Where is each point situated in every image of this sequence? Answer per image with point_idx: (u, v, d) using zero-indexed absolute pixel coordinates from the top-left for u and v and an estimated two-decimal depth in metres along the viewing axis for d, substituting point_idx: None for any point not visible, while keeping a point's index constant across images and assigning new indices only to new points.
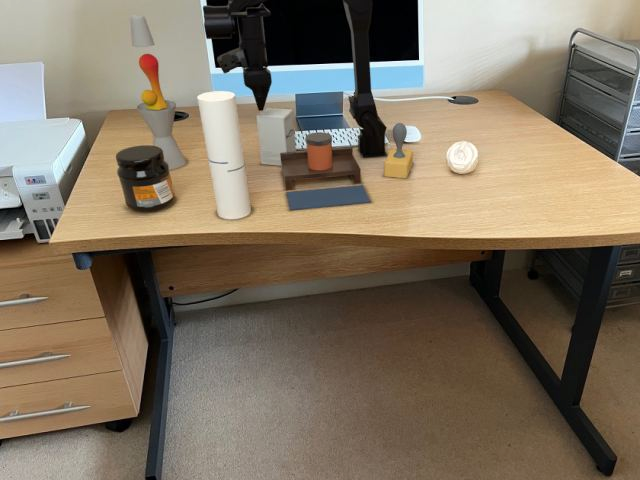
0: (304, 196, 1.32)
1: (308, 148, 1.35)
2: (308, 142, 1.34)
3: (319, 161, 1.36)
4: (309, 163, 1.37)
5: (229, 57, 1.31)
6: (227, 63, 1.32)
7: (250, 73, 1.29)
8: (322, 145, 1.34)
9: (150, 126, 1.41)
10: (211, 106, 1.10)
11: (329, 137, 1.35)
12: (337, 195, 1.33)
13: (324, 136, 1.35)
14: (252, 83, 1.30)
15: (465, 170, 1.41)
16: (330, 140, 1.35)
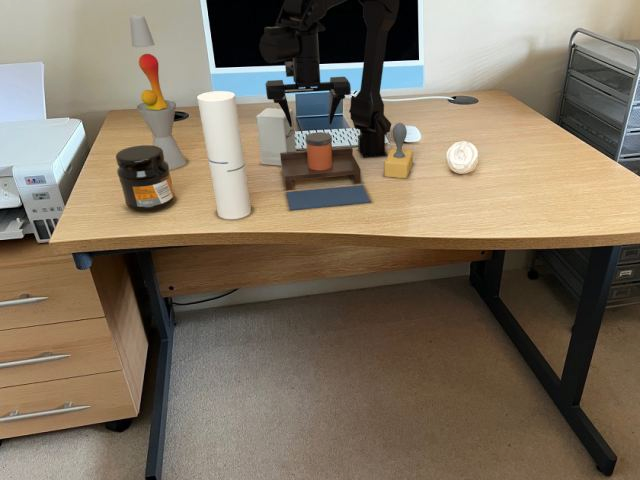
0: (304, 196, 1.32)
1: (308, 148, 1.35)
2: (308, 142, 1.34)
3: (319, 161, 1.36)
4: (309, 163, 1.37)
5: (285, 65, 1.32)
6: None
7: (266, 83, 1.29)
8: (322, 145, 1.34)
9: (150, 126, 1.41)
10: (211, 106, 1.10)
11: (329, 137, 1.35)
12: (337, 195, 1.33)
13: (324, 136, 1.35)
14: (266, 93, 1.30)
15: (465, 170, 1.41)
16: (330, 140, 1.35)
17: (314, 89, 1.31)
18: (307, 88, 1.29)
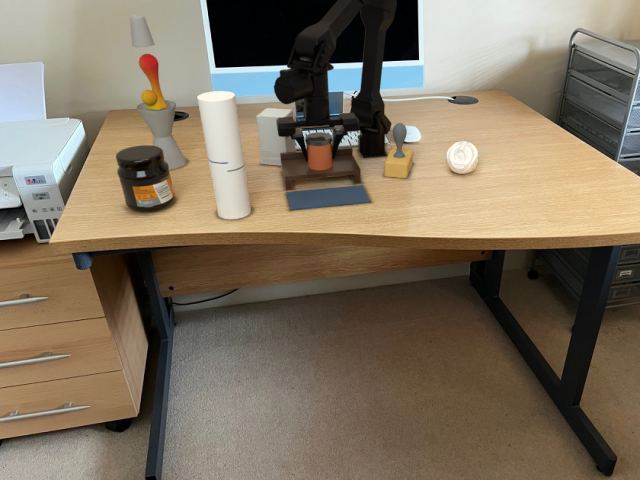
0: (304, 196, 1.32)
1: (308, 148, 1.35)
2: (308, 142, 1.34)
3: (319, 161, 1.36)
4: (309, 163, 1.37)
5: (295, 102, 1.35)
6: None
7: (277, 120, 1.32)
8: (322, 145, 1.34)
9: (150, 126, 1.41)
10: (211, 106, 1.10)
11: (329, 137, 1.35)
12: (337, 195, 1.33)
13: (324, 136, 1.35)
14: (277, 129, 1.33)
15: (465, 170, 1.41)
16: (330, 140, 1.35)
17: None
18: (317, 125, 1.33)
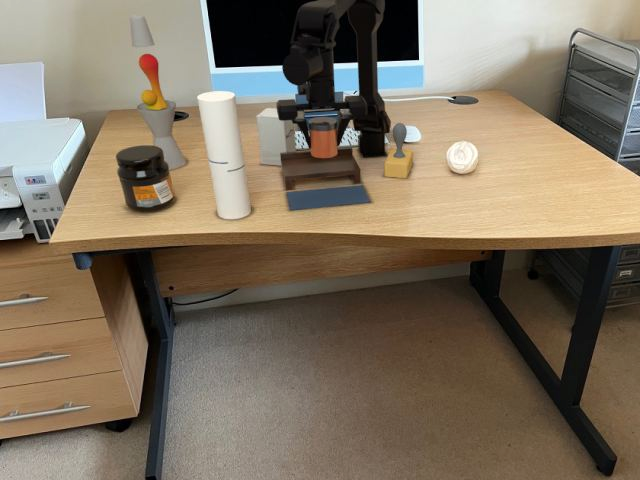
0: (304, 196, 1.32)
1: (311, 134, 1.23)
2: (311, 127, 1.22)
3: (323, 148, 1.24)
4: (312, 150, 1.26)
5: None
6: (297, 89, 1.25)
7: (277, 103, 1.21)
8: (326, 130, 1.22)
9: (150, 126, 1.41)
10: (211, 106, 1.10)
11: (334, 122, 1.23)
12: (337, 195, 1.33)
13: (329, 121, 1.24)
14: (277, 113, 1.22)
15: (465, 170, 1.41)
16: (335, 125, 1.23)
17: None
18: (321, 108, 1.21)
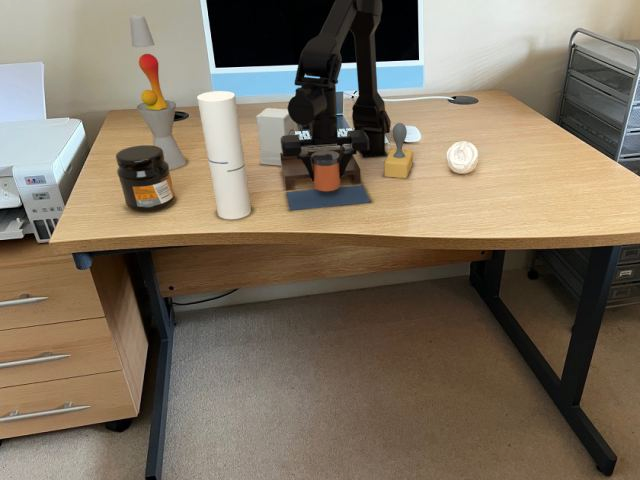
0: (304, 196, 1.32)
1: (314, 168, 1.26)
2: (314, 162, 1.25)
3: (326, 181, 1.27)
4: (315, 183, 1.29)
5: None
6: None
7: (281, 138, 1.24)
8: (329, 165, 1.25)
9: (150, 126, 1.41)
10: (211, 106, 1.10)
11: (337, 156, 1.26)
12: (337, 195, 1.33)
13: (332, 155, 1.27)
14: (281, 148, 1.25)
15: (465, 170, 1.41)
16: (338, 159, 1.26)
17: None
18: (324, 143, 1.24)
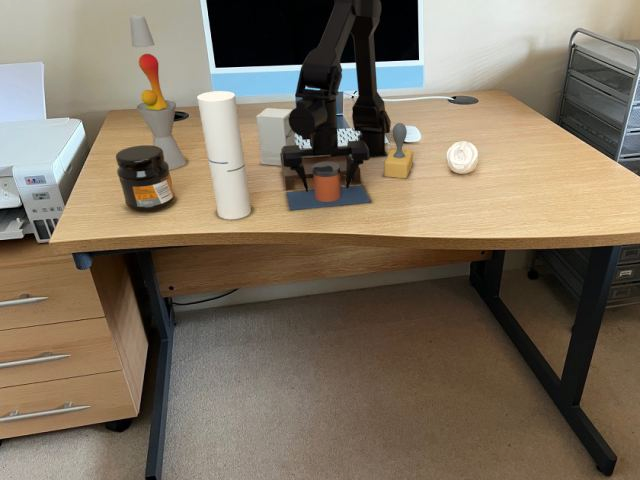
0: (304, 196, 1.32)
1: (315, 179, 1.28)
2: (315, 173, 1.27)
3: (326, 192, 1.28)
4: (316, 194, 1.30)
5: None
6: None
7: (282, 149, 1.25)
8: (330, 176, 1.26)
9: (150, 126, 1.41)
10: (211, 106, 1.10)
11: (337, 167, 1.28)
12: None
13: (332, 167, 1.28)
14: (282, 158, 1.26)
15: (465, 170, 1.41)
16: (338, 170, 1.28)
17: (331, 154, 1.27)
18: (324, 154, 1.25)
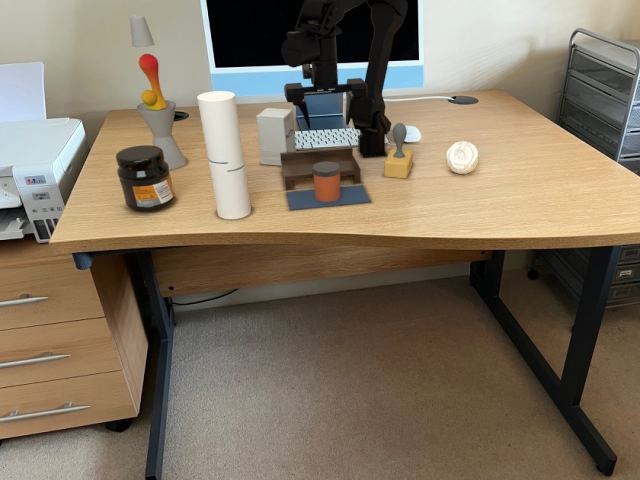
0: (304, 196, 1.32)
1: (315, 179, 1.28)
2: (315, 173, 1.27)
3: (326, 192, 1.28)
4: (316, 194, 1.30)
5: (302, 68, 1.34)
6: None
7: (285, 86, 1.31)
8: (330, 176, 1.26)
9: (150, 126, 1.41)
10: (211, 106, 1.10)
11: (337, 167, 1.28)
12: None
13: (332, 167, 1.28)
14: (285, 95, 1.33)
15: (465, 170, 1.41)
16: (338, 170, 1.28)
17: (332, 91, 1.33)
18: (325, 90, 1.32)
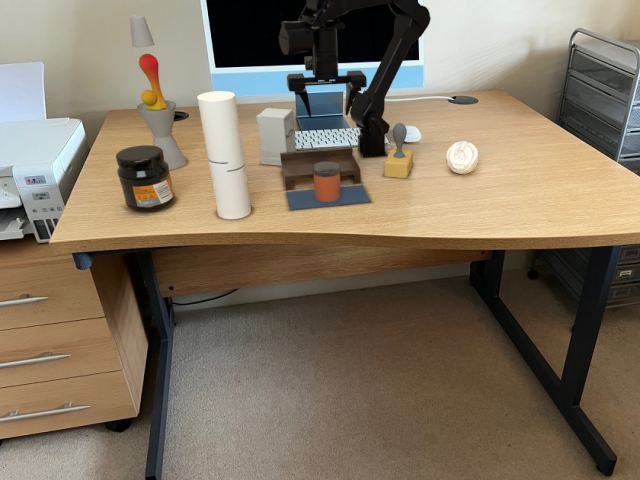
0: (304, 196, 1.32)
1: (315, 179, 1.28)
2: (315, 173, 1.27)
3: (326, 192, 1.28)
4: (316, 194, 1.30)
5: (305, 60, 1.41)
6: (305, 65, 1.42)
7: (287, 76, 1.38)
8: (330, 176, 1.26)
9: (150, 126, 1.41)
10: (211, 106, 1.10)
11: (337, 167, 1.28)
12: None
13: (332, 167, 1.28)
14: (287, 85, 1.39)
15: (465, 170, 1.41)
16: (338, 170, 1.28)
17: (332, 82, 1.39)
18: (326, 81, 1.38)
